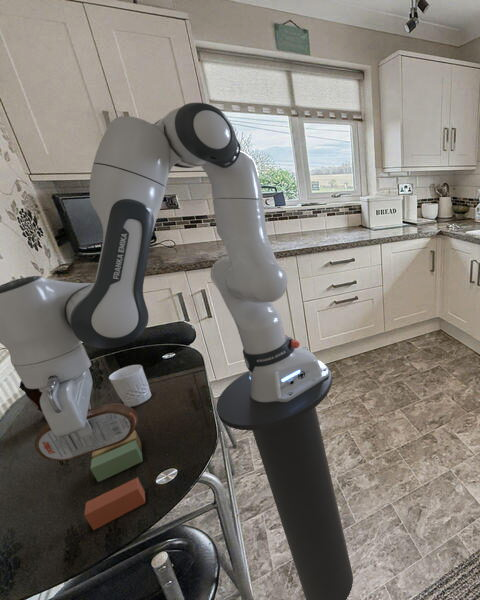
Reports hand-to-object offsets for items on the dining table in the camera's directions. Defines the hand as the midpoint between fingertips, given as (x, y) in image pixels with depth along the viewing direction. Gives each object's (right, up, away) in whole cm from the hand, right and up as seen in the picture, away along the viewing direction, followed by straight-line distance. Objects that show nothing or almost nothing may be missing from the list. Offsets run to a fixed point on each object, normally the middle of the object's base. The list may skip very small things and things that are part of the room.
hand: (88, 427), depth 64 cm
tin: (0, -5, +2) cm, 5 cm away
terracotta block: (+6, -16, 0) cm, 18 cm away
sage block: (-3, -13, +11) cm, 17 cm away
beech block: (-6, -12, +14) cm, 20 cm away
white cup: (-19, -6, +36) cm, 41 cm away
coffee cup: (-40, -9, +33) cm, 53 cm away
